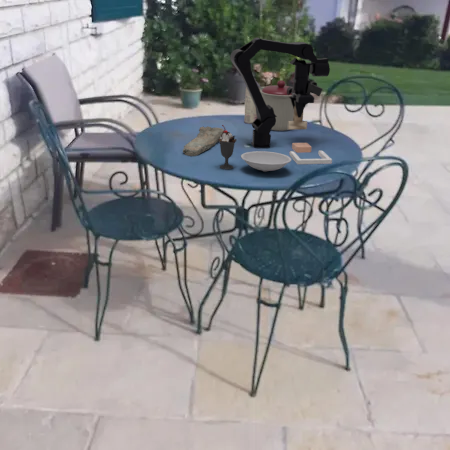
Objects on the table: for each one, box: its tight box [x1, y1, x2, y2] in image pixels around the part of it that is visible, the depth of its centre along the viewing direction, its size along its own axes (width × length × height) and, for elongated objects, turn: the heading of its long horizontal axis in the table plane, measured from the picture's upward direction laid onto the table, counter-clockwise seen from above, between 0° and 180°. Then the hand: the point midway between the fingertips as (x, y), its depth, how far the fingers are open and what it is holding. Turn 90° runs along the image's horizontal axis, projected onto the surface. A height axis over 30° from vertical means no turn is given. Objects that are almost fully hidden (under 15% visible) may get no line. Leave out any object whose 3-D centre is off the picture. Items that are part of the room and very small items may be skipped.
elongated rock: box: [182, 126, 224, 157], centre depth 223 cm, size 35×5×10 cm
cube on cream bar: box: [288, 106, 308, 130], centre depth 222 cm, size 8×3×9 cm, turn 98°
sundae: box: [218, 124, 237, 171], centre depth 194 cm, size 7×7×15 cm
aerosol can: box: [243, 78, 262, 125], centre depth 254 cm, size 7×7×20 cm
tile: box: [291, 142, 312, 154], centre depth 219 cm, size 6×6×2 cm
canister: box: [260, 79, 294, 132], centre depth 245 cm, size 18×18×21 cm
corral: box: [288, 150, 333, 165], centre depth 208 cm, size 13×12×2 cm
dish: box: [240, 150, 292, 173], centre depth 194 cm, size 18×14×5 cm
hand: (298, 116), depth 222 cm, fingers closed on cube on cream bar, 3 cm apart
